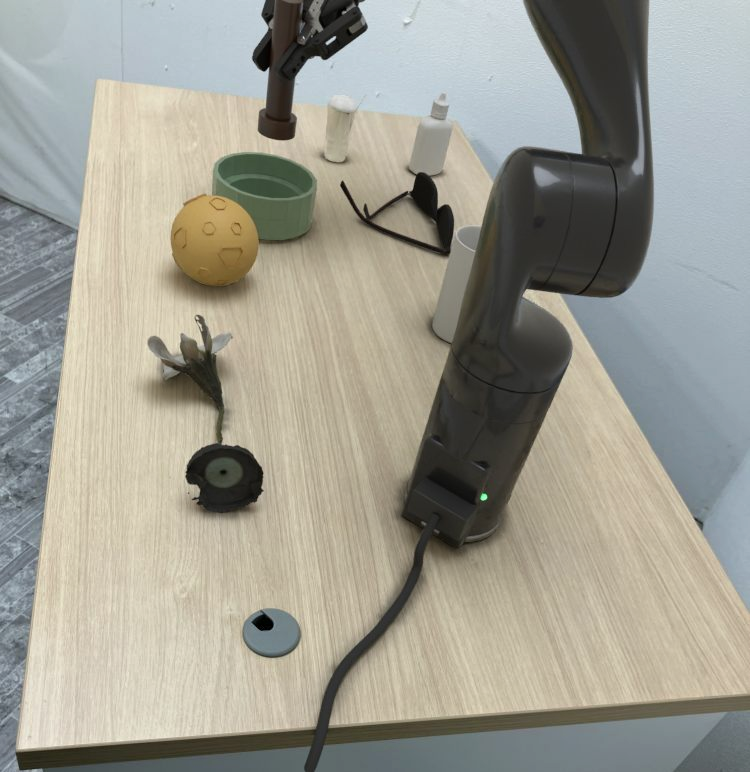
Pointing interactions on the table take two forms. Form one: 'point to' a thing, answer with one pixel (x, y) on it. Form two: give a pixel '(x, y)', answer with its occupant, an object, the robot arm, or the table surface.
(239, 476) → the artificial flower
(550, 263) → the robot arm
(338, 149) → the milkshake
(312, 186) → the bowl
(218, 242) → the stress ball
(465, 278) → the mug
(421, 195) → the sunglasses
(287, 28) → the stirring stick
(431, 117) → the eye dropper bottle
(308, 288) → the table surface
